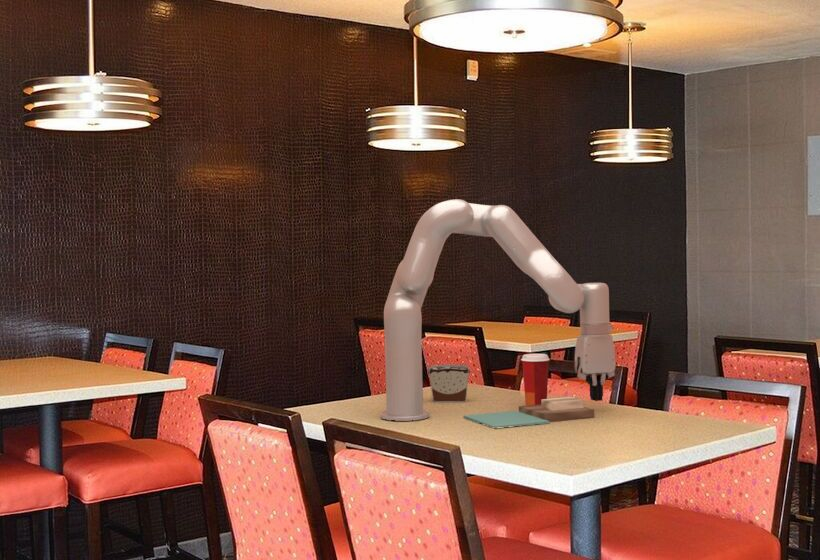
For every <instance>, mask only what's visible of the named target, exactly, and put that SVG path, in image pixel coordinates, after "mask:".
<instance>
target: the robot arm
mask: <svg viewBox="0 0 820 560" xmlns="http://www.w3.org/2000/svg"><path fill="white" fill-rule="evenodd" d="M451 234H461V235H470V236H477V237H486V238H487V237H489V238H493V239H494V241H496V243H497V244H498V245H499V246H500V247H501V248H502V250H503V251H504V252H505V253H506V254H507V256H508V257H509V258H510V259H511V261H512V262H513V263H514V264H515V265H516V266H517V268H519V269H520V270H521V271H522V272H523V273H524V274H525V275H528V276H529V277H530V278H531V279H533V281H535V283H537V284H538V285H539V286H540V288H541V289H543V290H542V291H544V292H545V294H546V295H547V297H548V302H549V304H550V305H551V306H552V307H553V308H554V309H555V310H557V311H559V312H562V313H566V314H573V313H575V312H578V311H579V324H580V325H579V328H580V332H579V333H580V335H577V336H576V337H577V338H576V342H575V347H574V348H575V349H574V371H575V372H576V373H577V375H576V377H577V379H579V380H584V381H585V382H586V383H587V385H589V397H590V400H591V401H593V402H594V401H595V402H599V401H601V402H602V401H603V397H604V386H605V384H606V381H607V380H608V379H610V378H612V377H614V376H615V370H616V351H615V345H614V340H613V336H612V334H611V331H612V330H614V326H613V324H611V323H610V292H609V291H610V289H609V286H608V284H607V283H604V282H585V283H577V282H576V281H575V279H573V277H572V276H571V275H570V274H569V273H568V272H567V271H566V269H565V268H564V267H563V266H562V265H561V264H560V263H559V262H558V260H557V259H555V257H554V256H553V255H552V254H551V252H550V251H548V249H547V248H546V247H545V245H544V244H543V243H541V241H540V240H539V239H538V238H537V236H536V235H535V234H534V233H533V232H532V230H531V229H530V228H529V226H527V225H526V223H524V221H523V220H522V219H521V218H520V216H519V215H518V214H517V213H516V212H515V211H514V210H513V209H512V208H511V207H510V206H508V205H504V204H498V205H492V204H491V205H489V204H479V203H470V202H467V201H466V200H464V199H459V198H455V199H448V200H444V201H440V202H438V203H435V204H434V205H433V206H432V207H430V208H429V209H428V210H426V211H425V212H424V213H423V215H422V216H421V217H420V218H419V220H418V221H417V223H416V225H415V228H414V231H413V232H412V235H411V237H410V240H409V243H408V246H407V248H406V251H405V254H404V256H403V259H402V260H401V261H400V263H399V264H398V266H397V268H396V271H395V274H394V276H393V280H392V284H391V286H390V289H389V292H388V295H387V298H386V301H385V304H384V307H383V308H384V309H383V326H384V327H383V328H384V331H383V332H384V359H385V365H384V366H385V398H386V400H385V402H386V405H385V406H386V410H385V411H382V412H381V413H380V419H383V420H385V419H386V420H385V421H391V420H395V422H410V421H411V422H412V420H413V421H421V420H424V419H428V418H429V417H430V411H428V410H425V409H424V397H423V396H424V391H423V389H424V388H423V387H424V386H423V356H422V355H423V354H422V353H423V352H422V351H423V350H422V349H423V348H422V327H423V326H422V325H423V324H422V323H423V322H422V321H423V319H422V318H423V317H422V316H423V315H422V307H423V303H424V300H425V299H426V298H425V297H426V295H427V292H428V289H429V287H430V286H431V285H432V282H433V280H434V275H435V272H436V268H437V264H438V261H439V258H440V255H441V253H442V252H443V251H442V250H443V248H444V244H445V242H446V240H447V239H448V238H449V236H451Z"/></svg>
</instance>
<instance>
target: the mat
mask: <svg viewBox="0 0 820 560" xmlns="http://www.w3.org/2000/svg"><path fill="white" fill-rule="evenodd" d="M463 419H465V420H469V421H471V420H472V421H471V422H474V421H475V422H474V423H476V422H478V423H477V424H479V423H482V424H485V425H488V426H491V427H494V428H497V427H509V426H521V427H523V426H522V425H531V426H536V425H535V424H541V425H549V424H550V423H551V422H550V421H547V420H544V419H541V418H538V417H534V416H531V415H528V414H525V413H521V412H519V410H509V411H498V412H489V413H487V412H486V413H478V414H477V413H476V414H466V415H463ZM482 424H481V425H482ZM485 425H484V426H485ZM488 426H487V427H488Z"/></svg>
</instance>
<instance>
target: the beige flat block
mask: <svg viewBox="0 0 820 560" xmlns="http://www.w3.org/2000/svg"><path fill="white" fill-rule="evenodd" d="M541 402H542V407H543V408H546V409H550V410H553V411H554V410H564V409H575V408H584V407H585V403H584V402H585V401H584V399H582V398H577V397H574V396H566V397H556V398H555V397H554V398H547V399H541Z"/></svg>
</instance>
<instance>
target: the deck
mask: <svg viewBox="0 0 820 560" xmlns="http://www.w3.org/2000/svg"><path fill="white" fill-rule="evenodd" d="M518 412H521V413H525V414H528V415H531V416H534V417H538V418H541V419H544V420H547V421H550V423H552V422H554V423H555V422H561V421H563V422H564V421H572V420H584V419H594V418H595V409H593V408H589V407H585V406H584V408H575V409H564V410H554V411H553V410H550V409H546V408H543V407H542V404H540V405H529V406H526V405H521V406H518Z"/></svg>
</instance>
